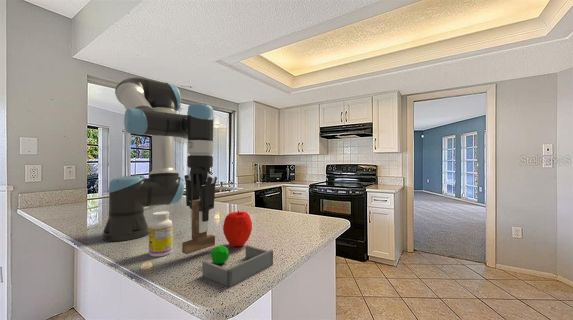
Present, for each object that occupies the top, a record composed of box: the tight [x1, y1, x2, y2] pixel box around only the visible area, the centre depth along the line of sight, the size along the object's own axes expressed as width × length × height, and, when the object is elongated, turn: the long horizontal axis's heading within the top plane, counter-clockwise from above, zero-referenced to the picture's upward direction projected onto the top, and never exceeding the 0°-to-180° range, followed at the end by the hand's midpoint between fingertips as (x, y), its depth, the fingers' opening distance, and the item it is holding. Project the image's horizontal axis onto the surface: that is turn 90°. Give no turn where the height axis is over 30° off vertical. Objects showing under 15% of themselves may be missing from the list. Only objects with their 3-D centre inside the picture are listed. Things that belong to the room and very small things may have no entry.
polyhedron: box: [210, 245, 230, 265], centre depth 72 cm, size 5×5×5 cm
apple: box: [222, 210, 253, 247], centre depth 87 cm, size 10×10×12 cm
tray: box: [202, 244, 274, 288], centre depth 67 cm, size 10×16×4 cm, turn 144°
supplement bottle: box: [148, 210, 173, 258], centre depth 79 cm, size 7×7×13 cm
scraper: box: [181, 198, 216, 255], centre depth 78 cm, size 3×10×15 cm, turn 144°
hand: (199, 230), depth 78 cm, fingers closed on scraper, 3 cm apart
